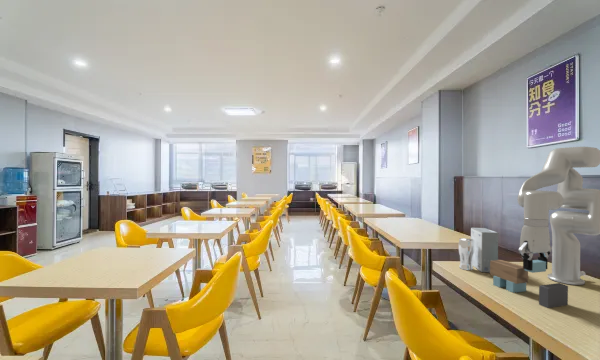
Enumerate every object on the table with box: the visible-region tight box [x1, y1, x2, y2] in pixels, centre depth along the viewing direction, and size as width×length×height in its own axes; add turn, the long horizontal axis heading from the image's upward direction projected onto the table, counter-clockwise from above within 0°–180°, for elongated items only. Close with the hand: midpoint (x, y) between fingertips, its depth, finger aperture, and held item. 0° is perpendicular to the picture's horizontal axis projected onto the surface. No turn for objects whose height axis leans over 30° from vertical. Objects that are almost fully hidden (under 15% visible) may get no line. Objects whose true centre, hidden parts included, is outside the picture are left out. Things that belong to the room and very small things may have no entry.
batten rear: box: [492, 275, 506, 288], centre depth 128 cm, size 7×3×4 cm, turn 106°
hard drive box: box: [470, 227, 499, 273], centre depth 152 cm, size 16×8×20 cm, turn 168°
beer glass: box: [458, 237, 474, 271], centre depth 151 cm, size 7×7×15 cm
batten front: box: [505, 280, 527, 294], centre depth 122 cm, size 7×3×4 cm, turn 106°
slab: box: [489, 259, 529, 284], centre depth 125 cm, size 6×12×6 cm, turn 16°
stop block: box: [538, 282, 569, 309], centre depth 108 cm, size 10×3×7 cm, turn 106°
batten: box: [524, 259, 547, 274], centre depth 114 cm, size 7×3×4 cm, turn 106°
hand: (535, 268), depth 114 cm, fingers closed on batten, 7 cm apart
